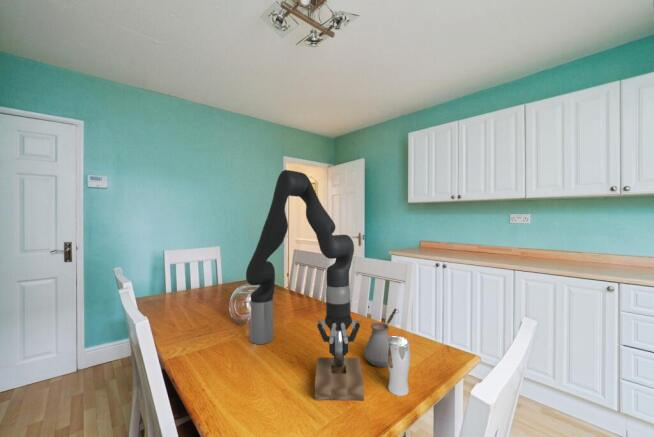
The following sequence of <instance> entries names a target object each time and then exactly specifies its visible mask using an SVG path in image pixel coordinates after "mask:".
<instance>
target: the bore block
mask: <svg viewBox="0 0 654 437" xmlns="http://www.w3.org/2000/svg"><path fill="white" fill-rule="evenodd" d="M316 359H317V360H316V362H317V363H316V368H315V369H316V370H315V378H314V379H315V380H314V401H365V388H364V387H365V386H364V384H365V382H364V378H363V377H364V376H363V372H362V365H361V361H360V357H344V366H342V367H336V366H334V357H317V358H316Z"/></svg>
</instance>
